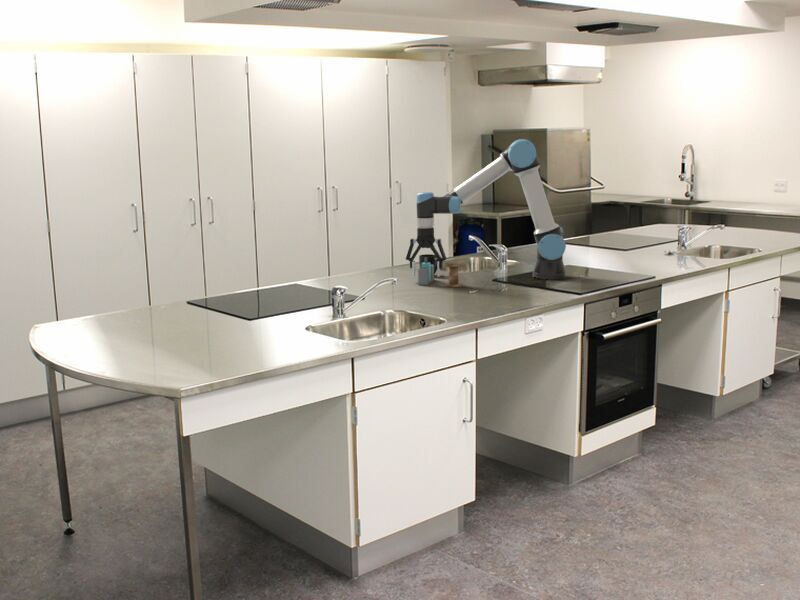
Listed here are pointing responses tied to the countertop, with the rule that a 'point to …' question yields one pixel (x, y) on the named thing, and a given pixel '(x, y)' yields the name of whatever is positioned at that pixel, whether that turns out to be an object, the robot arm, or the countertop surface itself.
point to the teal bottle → (427, 265)
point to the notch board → (425, 275)
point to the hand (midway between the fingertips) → (426, 275)
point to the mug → (429, 260)
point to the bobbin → (453, 274)
